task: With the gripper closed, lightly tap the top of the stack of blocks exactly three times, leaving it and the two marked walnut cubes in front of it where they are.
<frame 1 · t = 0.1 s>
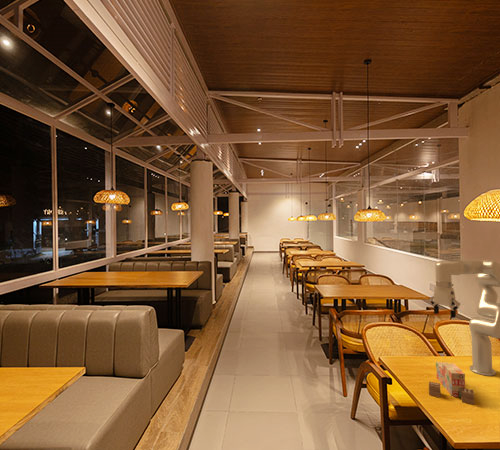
hand: (444, 315, 176), 37 cm above the table, tool pointing down, fingers open, 9 cm apart
walnut cube two: (467, 401, 157), on the table
stack of blocks: (450, 387, 171), on the table
walnut cube one: (434, 394, 164), on the table
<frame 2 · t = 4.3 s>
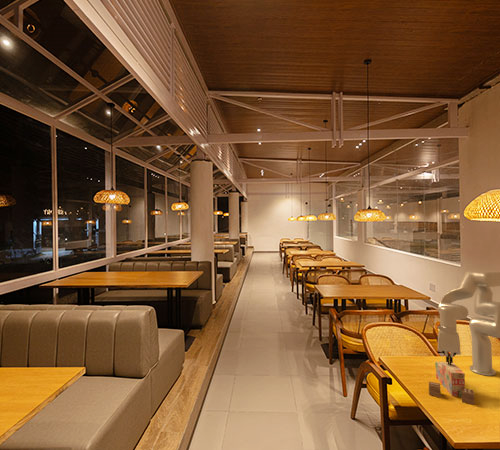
hand: (449, 363, 171), 13 cm above the table, tool pointing down, fingers closed
nothing on the table moved.
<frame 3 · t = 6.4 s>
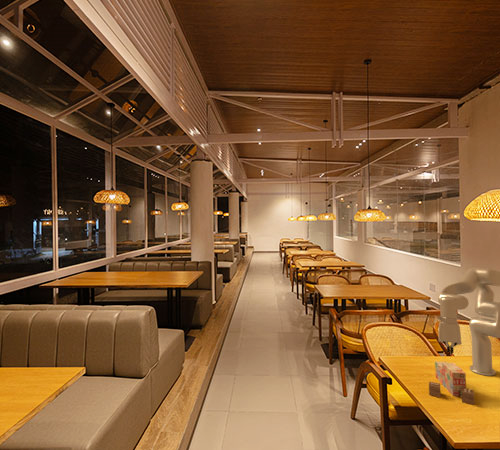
hand: (450, 353, 172), 18 cm above the table, tool pointing down, fingers closed
nothing on the table moved.
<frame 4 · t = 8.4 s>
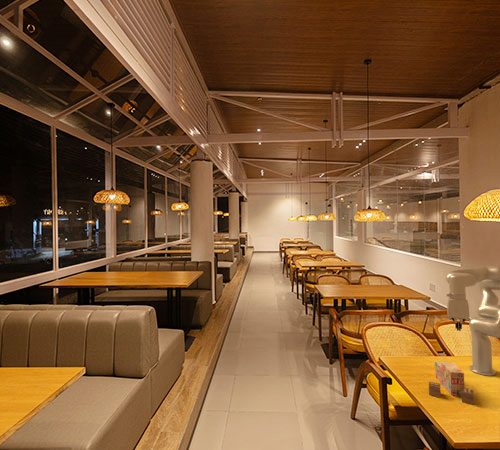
hand: (458, 330, 176), 29 cm above the table, tool pointing down, fingers closed
at the end: stack of blocks moved 1.3 cm from its start; stack of blocks tilted 0°; walnut cube one moved 0.1 cm from its start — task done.
